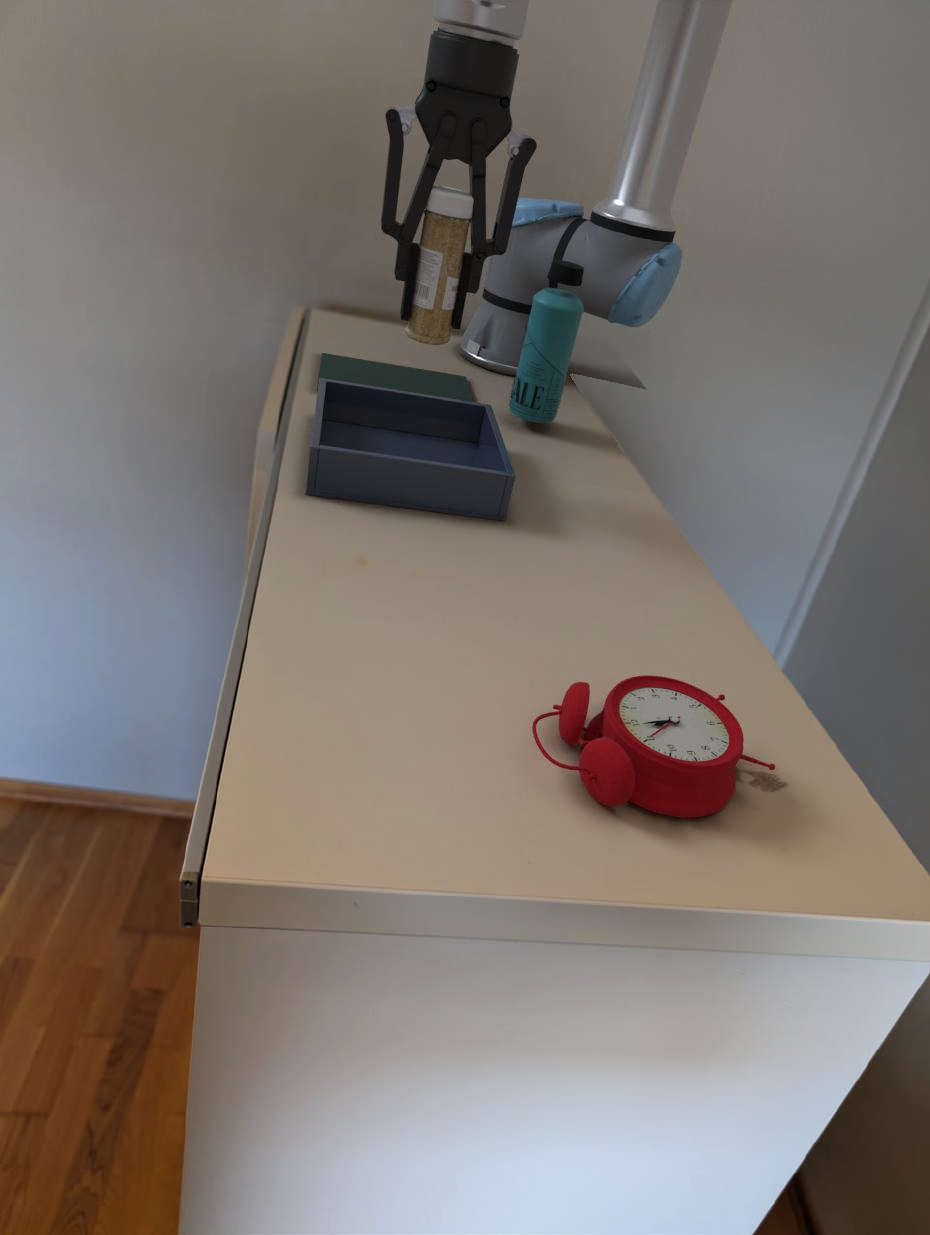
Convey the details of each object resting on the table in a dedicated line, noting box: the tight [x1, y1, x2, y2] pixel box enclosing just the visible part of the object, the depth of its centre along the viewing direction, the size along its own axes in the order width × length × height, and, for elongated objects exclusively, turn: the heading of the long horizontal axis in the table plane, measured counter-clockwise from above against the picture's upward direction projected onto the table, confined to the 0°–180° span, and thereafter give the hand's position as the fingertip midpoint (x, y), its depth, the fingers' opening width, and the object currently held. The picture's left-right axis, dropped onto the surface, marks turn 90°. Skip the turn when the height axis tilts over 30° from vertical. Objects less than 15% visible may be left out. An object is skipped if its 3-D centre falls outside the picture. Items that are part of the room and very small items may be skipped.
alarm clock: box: [531, 674, 776, 818], centre depth 57 cm, size 10×6×15 cm
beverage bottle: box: [507, 260, 585, 424], centre depth 105 cm, size 6×7×20 cm
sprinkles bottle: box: [404, 184, 473, 346], centre depth 81 cm, size 5×5×13 cm
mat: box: [316, 352, 474, 402], centre depth 113 cm, size 20×14×1 cm
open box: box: [305, 377, 517, 522], centre depth 90 cm, size 20×20×5 cm
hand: (429, 320), depth 84 cm, fingers closed on sprinkles bottle, 4 cm apart
